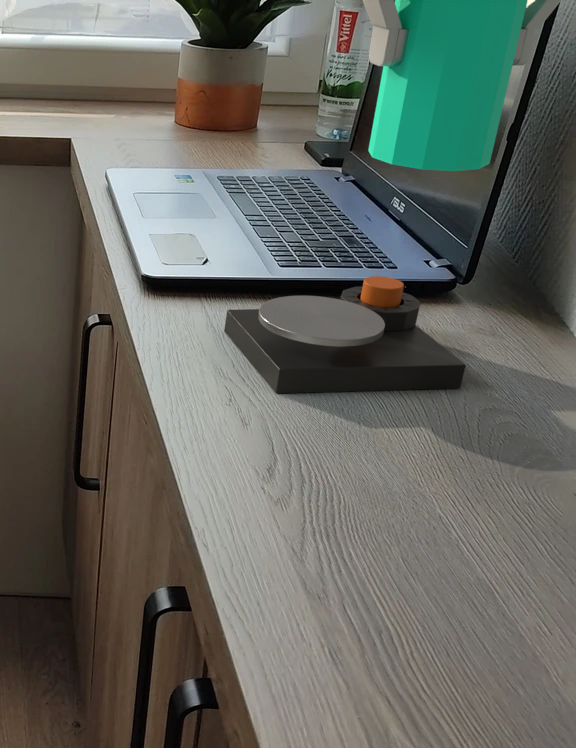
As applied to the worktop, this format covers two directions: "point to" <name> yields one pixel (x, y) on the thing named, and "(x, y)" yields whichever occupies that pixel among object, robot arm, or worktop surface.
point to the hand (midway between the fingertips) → (445, 64)
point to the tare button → (382, 291)
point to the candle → (447, 84)
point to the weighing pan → (321, 321)
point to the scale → (349, 355)
